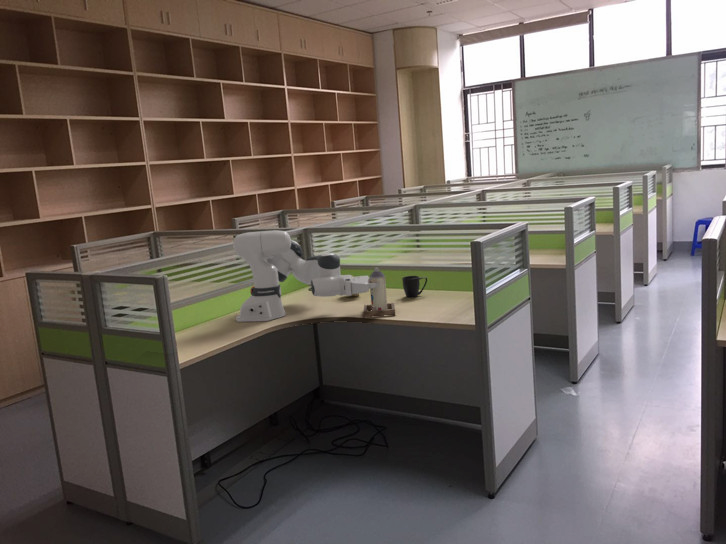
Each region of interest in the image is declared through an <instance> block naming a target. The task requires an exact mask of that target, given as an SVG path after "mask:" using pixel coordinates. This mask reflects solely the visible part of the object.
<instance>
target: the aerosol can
mask: <svg viewBox="0 0 726 544" xmlns="http://www.w3.org/2000/svg"><path fill="white" fill-rule="evenodd" d="M379 269H380V268H379V267H374V270H373V272H371V274H369V279H370V283H376V282H379V284H380V286H379V287H375V288H370V289H369V292H370V303H371V304H370V305H372V311H375V310H389V309H387V303H388V298H387V285H386V283H387V282H386V275H385V273H383V272H382V271H381V270H379Z"/></svg>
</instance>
